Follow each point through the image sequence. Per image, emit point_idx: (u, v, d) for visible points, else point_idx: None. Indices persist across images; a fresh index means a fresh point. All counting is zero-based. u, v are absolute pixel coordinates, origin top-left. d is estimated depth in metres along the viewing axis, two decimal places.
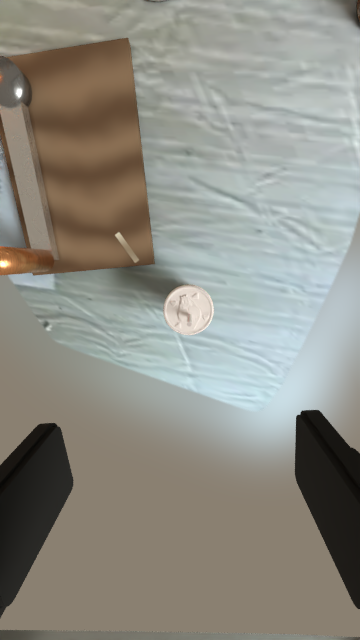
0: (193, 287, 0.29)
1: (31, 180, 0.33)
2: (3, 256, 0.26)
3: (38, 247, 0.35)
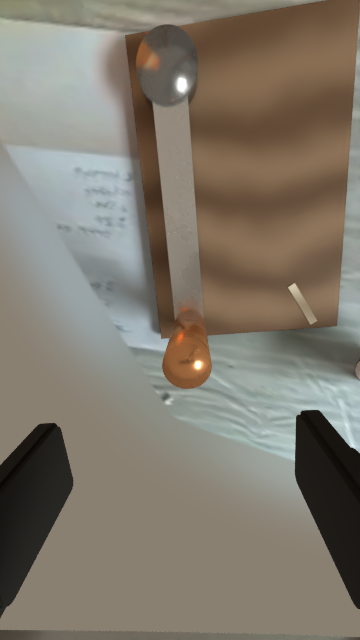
0: None
1: (188, 214, 0.23)
2: None
3: (184, 307, 0.25)
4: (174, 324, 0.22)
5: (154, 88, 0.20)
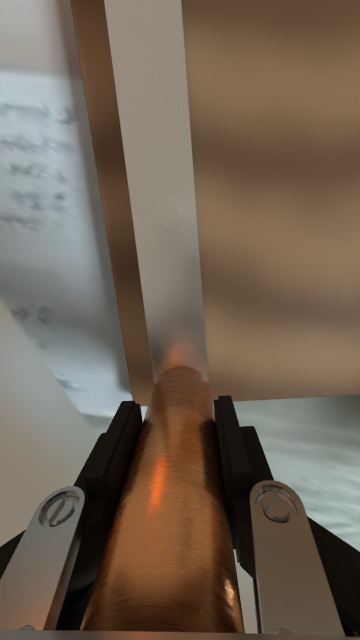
0: None
1: (176, 178, 0.11)
2: None
3: (172, 361, 0.13)
4: (147, 411, 0.10)
5: None
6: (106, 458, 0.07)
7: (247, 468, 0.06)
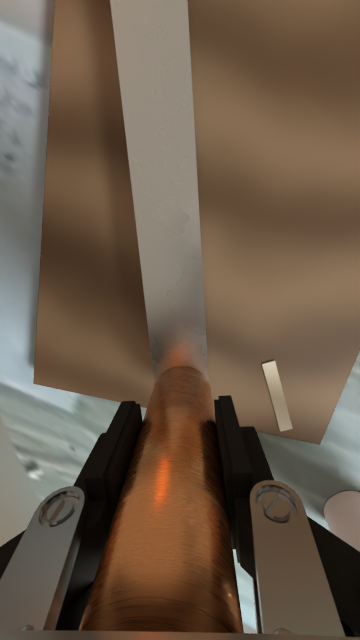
0: None
1: (180, 177, 0.11)
2: None
3: (172, 360, 0.13)
4: (147, 410, 0.10)
5: None
6: (106, 458, 0.07)
7: (247, 468, 0.06)
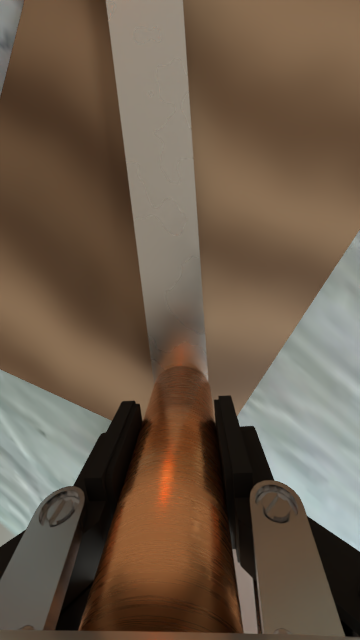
0: None
1: (177, 178, 0.11)
2: None
3: (172, 361, 0.13)
4: (147, 411, 0.10)
5: None
6: (106, 458, 0.07)
7: (247, 467, 0.06)
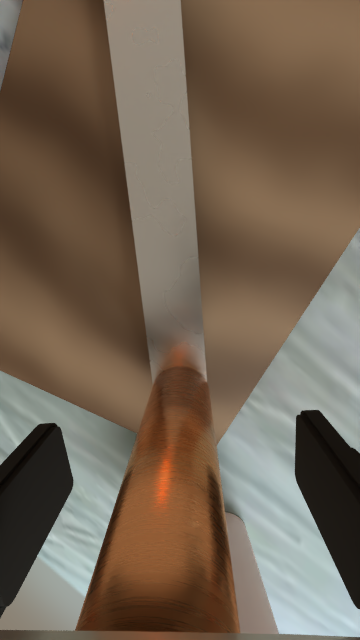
0: None
1: (175, 178, 0.11)
2: None
3: (170, 361, 0.13)
4: (145, 411, 0.10)
5: None
6: None
7: None
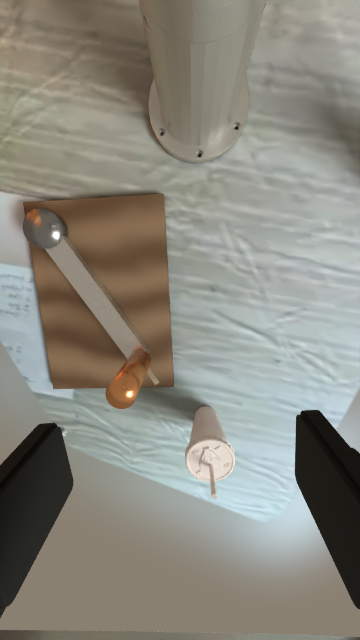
0: (216, 441, 0.30)
1: (99, 296, 0.34)
2: (131, 383, 0.25)
3: (130, 351, 0.35)
4: None
5: (42, 243, 0.32)
6: None
7: None
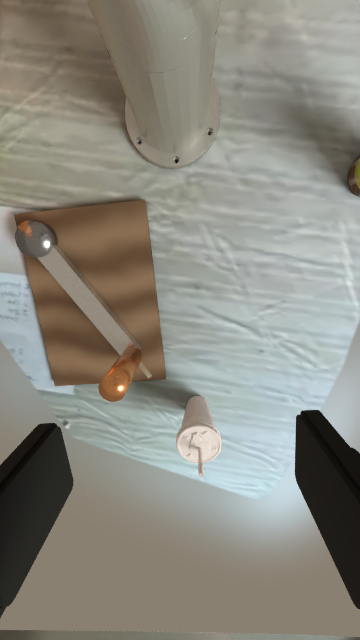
0: (203, 427, 0.33)
1: (90, 299, 0.36)
2: (120, 378, 0.28)
3: (123, 348, 0.38)
4: None
5: (34, 253, 0.34)
6: None
7: None
